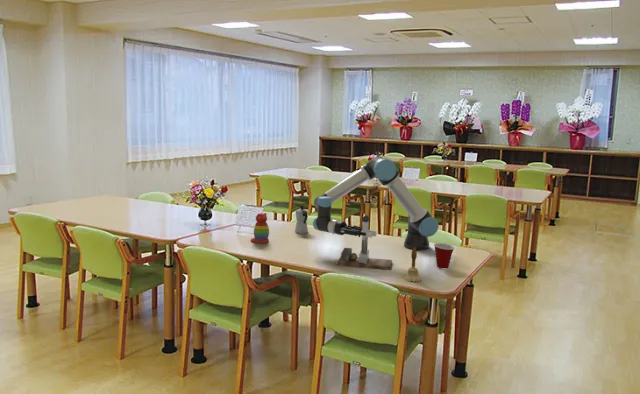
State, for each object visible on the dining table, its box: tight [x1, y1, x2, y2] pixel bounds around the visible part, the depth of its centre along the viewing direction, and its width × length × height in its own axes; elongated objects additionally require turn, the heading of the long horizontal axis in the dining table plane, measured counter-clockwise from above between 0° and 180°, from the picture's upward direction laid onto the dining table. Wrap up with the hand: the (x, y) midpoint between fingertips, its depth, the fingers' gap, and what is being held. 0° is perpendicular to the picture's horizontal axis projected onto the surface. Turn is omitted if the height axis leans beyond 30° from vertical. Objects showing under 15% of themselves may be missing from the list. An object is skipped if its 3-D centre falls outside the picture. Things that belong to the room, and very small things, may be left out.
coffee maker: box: [294, 205, 309, 235], centre depth 357 cm, size 15×9×18 cm, turn 23°
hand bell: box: [403, 248, 422, 283], centre depth 264 cm, size 8×8×16 cm
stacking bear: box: [250, 212, 270, 245], centre depth 330 cm, size 11×10×18 cm
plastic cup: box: [433, 242, 456, 269], centre depth 287 cm, size 11×11×12 cm
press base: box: [336, 247, 393, 271], centre depth 290 cm, size 28×14×6 cm, turn 78°
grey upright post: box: [358, 214, 370, 264], centre depth 288 cm, size 4×11×25 cm, turn 169°
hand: (373, 234), depth 284 cm, fingers closed on grey upright post, 3 cm apart
